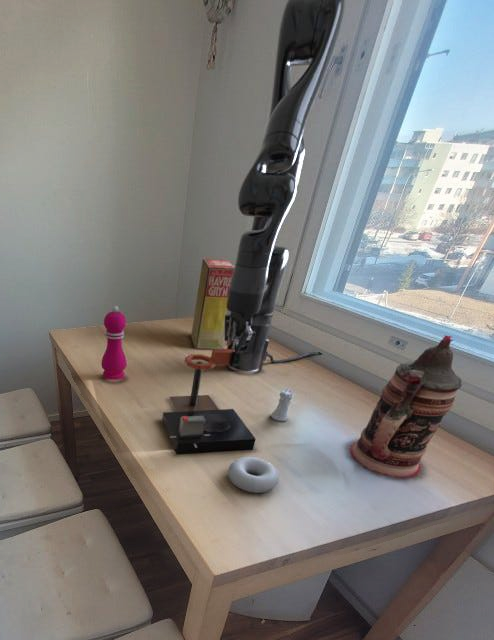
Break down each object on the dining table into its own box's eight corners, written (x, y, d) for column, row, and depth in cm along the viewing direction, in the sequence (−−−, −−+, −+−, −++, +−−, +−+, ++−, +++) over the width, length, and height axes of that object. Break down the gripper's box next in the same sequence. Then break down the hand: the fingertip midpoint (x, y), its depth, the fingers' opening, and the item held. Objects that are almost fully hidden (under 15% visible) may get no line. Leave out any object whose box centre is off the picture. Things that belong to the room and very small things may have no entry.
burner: (221, 412, 101) (221, 412, 101) (235, 431, 94) (235, 431, 94) (186, 414, 100) (186, 413, 100) (197, 433, 93) (197, 433, 93)
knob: (199, 433, 93) (203, 414, 90) (202, 437, 92) (205, 418, 88) (178, 434, 92) (181, 415, 89) (180, 439, 91) (183, 419, 88)
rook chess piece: (287, 418, 106) (297, 389, 101) (287, 426, 102) (297, 397, 97) (269, 415, 107) (278, 386, 102) (268, 423, 104) (277, 393, 98)
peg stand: (208, 398, 113) (216, 353, 105) (220, 416, 106) (230, 369, 98) (169, 399, 112) (174, 354, 104) (178, 418, 104) (185, 370, 96)
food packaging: (222, 349, 141) (237, 267, 125) (194, 349, 141) (206, 266, 125) (215, 336, 152) (229, 259, 135) (190, 335, 152) (200, 258, 135)
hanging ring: (190, 369, 98) (192, 356, 96) (182, 358, 103) (184, 345, 101) (241, 369, 100) (245, 356, 98) (231, 357, 105) (234, 345, 103)
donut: (265, 466, 89) (220, 467, 88) (270, 453, 87) (224, 453, 86) (283, 496, 82) (234, 496, 81) (288, 482, 80) (238, 483, 79)
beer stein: (389, 449, 100) (320, 445, 98) (453, 328, 85) (373, 318, 83) (439, 485, 87) (360, 481, 84) (526, 348, 71) (433, 338, 69)
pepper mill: (123, 384, 118) (126, 310, 105) (98, 382, 119) (98, 308, 106) (127, 374, 123) (131, 303, 110) (104, 372, 124) (105, 300, 111)
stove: (230, 419, 104) (233, 408, 102) (256, 455, 92) (259, 443, 90) (157, 423, 102) (158, 411, 100) (173, 460, 90) (175, 448, 88)
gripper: (277, 296, 86) (256, 375, 98) (250, 279, 97) (235, 352, 108) (243, 296, 85) (226, 376, 97) (220, 280, 96) (207, 353, 107)
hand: (231, 363), depth 102 cm, fingers closed on hanging ring, 2 cm apart
